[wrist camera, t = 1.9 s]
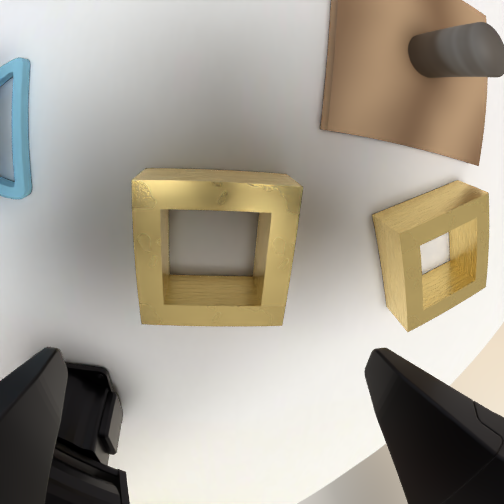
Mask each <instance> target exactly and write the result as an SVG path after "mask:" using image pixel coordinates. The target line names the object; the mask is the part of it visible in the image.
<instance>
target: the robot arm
mask: <svg viewBox="0 0 504 504" xmlns="http://www.w3.org/2000/svg"><path fill="white" fill-rule="evenodd" d="M101 374H102V375H101ZM365 378H366V382H367V385H368V389H369V392H370V396H371V400H372V403H373V407H374V411H375V414H376V417H377V420H378V423H379V425H380V428H381V430H382V433H383V436H384V438H385V441H386V443H387V446H388V449H389V451H390V454H391V457H392V459H393V462H394V465H395V468H396V470H397V473H398V476H399V479H400V482H401V484H402V487H403V490H404V493H405V496H406V499H407V502H408V504H504V417H502V416H500V415H498V414H496V413H494V412H492V411H490V410H489V409H487V408H485V407H483V406H482V405H480V404H478V403H477V402H475V401H473V400H471V399H470V398H468V397H467V396H465V395H463V394H462V393H460V392H458V391H456V390H455V389H453V388H452V387H450V386H448V385H447V384H445V383H443V382H442V381H440V380H438V379H437V378H435V377H433V376H432V375H430V374H429V373H427V372H425V371H424V370H422V369H420V368H419V367H417V366H415V365H414V364H412V363H410V362H409V361H407V360H405V359H404V358H402V357H401V356H399V355H397V354H396V353H394V352H392V351H391V350H389V349H387V348H377V349H374V350H373V351H372V352H371V355H370V357H369V360H368V362H367V365H366V367H365ZM122 417H123V411H122V408H121V405H120V402H119V399H118V395H117V394H116V393H115V392H114V391H113V388H112V384H111V381H110V378H109V374H108V372H107V371H106V370H105V369H104V368H100V367H92V366H83V365H75V364H68V363H65V362H64V359H63V356H62V353H61V351H60V350H59V349H58V348H53V347H46V348H44V349H43V350H41V351H40V352H38V353H37V354H36V355H34V356H33V357H32V358H30V359H29V360H28V361H26V362H25V363H24V364H22V365H21V366H19V367H18V368H17V369H15V370H14V371H13V372H11V373H10V374H9V375H7V376H6V377H5V378H4V379H2V380H1V381H0V504H130V502H129V495H128V487H127V478H126V472H125V471H122V470H120V469H114V468H112V467H110V466H108V459H109V454H112V455H114V454H115V453H117V447H118V441H119V435H120V429H121V423H122V419H123V418H122Z"/></svg>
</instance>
